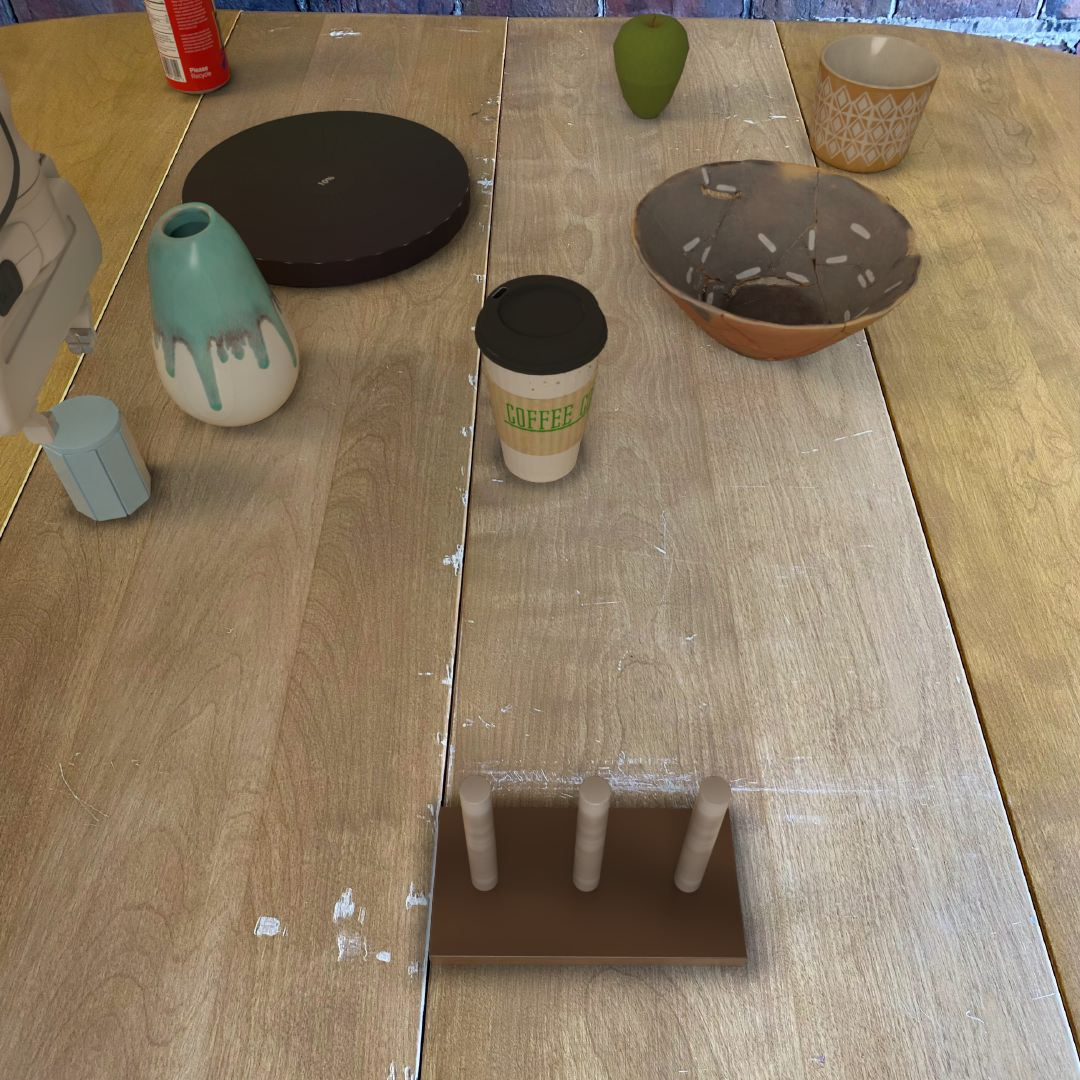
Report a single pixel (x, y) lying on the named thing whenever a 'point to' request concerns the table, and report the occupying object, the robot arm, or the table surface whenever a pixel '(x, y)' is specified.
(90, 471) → the blue cup
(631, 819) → the cup rack
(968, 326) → the table surface
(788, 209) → the bowl
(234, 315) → the vase
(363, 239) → the disc
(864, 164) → the planter
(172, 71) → the soda can
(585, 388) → the coffee cup
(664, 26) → the apple
